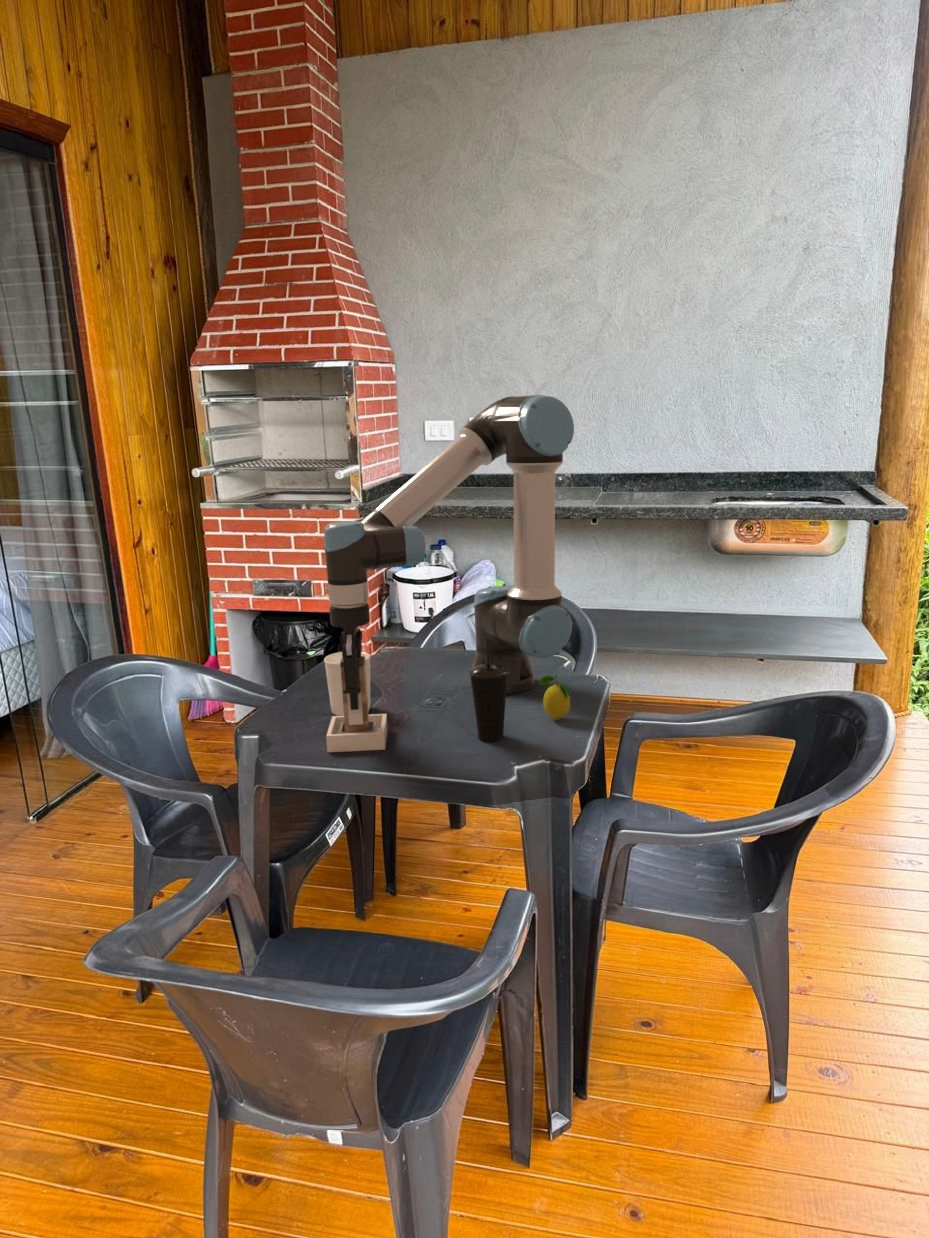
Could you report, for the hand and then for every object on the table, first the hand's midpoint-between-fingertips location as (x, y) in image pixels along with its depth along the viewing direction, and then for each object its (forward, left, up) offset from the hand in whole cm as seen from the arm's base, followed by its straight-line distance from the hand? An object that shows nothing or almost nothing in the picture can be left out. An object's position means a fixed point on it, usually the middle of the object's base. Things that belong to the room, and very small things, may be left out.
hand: (357, 719), depth 173 cm
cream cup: (+3, -18, -4) cm, 19 cm away
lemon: (-40, -6, -4) cm, 41 cm away
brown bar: (0, 0, -3) cm, 3 cm away
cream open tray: (0, 0, -4) cm, 4 cm away
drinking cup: (-26, +2, -4) cm, 26 cm away
